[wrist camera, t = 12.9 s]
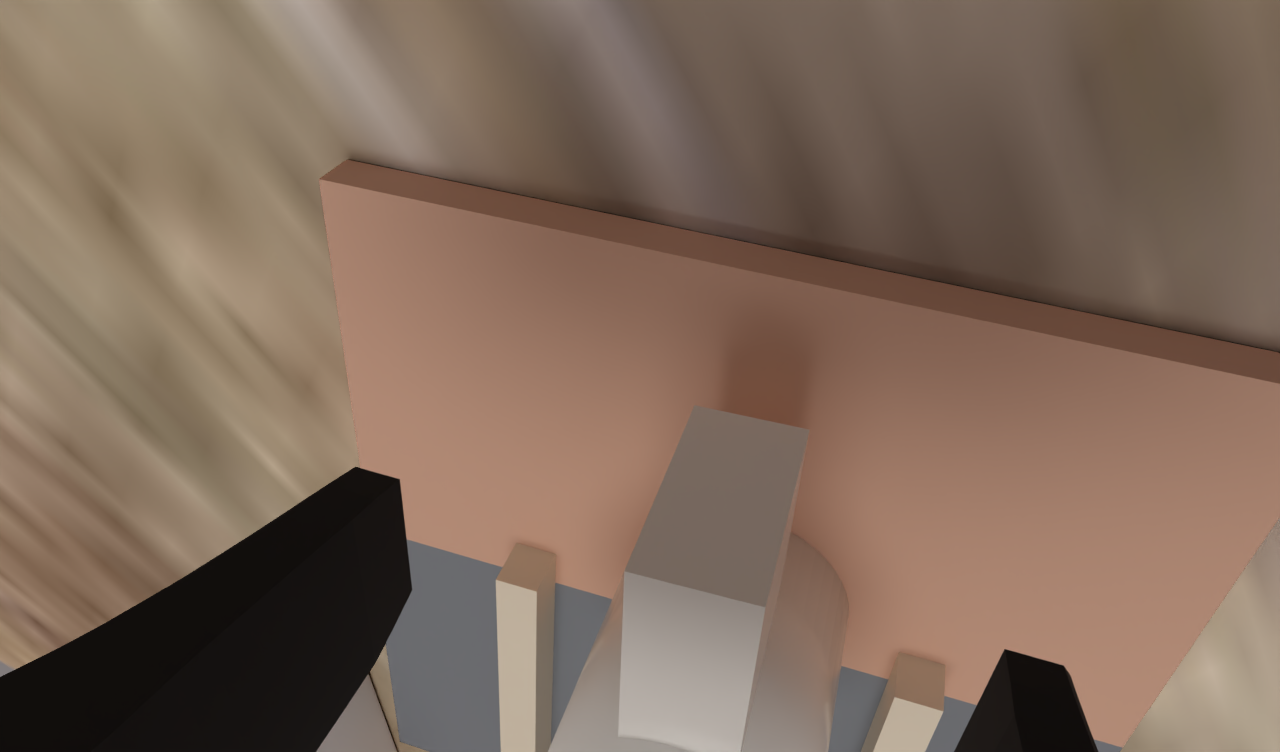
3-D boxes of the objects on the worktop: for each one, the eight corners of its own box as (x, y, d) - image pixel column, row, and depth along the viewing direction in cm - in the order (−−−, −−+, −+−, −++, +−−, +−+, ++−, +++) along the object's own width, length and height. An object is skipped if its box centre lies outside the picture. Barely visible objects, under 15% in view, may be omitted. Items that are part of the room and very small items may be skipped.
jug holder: (1339, 365, 15) (1385, 449, 13) (990, 904, 26) (991, 987, 25) (346, 159, 19) (281, 205, 17) (415, 714, 30) (380, 775, 28)
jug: (822, 720, 22) (778, 986, 18) (625, 665, 23) (535, 901, 19) (906, 393, 17) (874, 660, 12) (638, 340, 18) (513, 565, 13)
